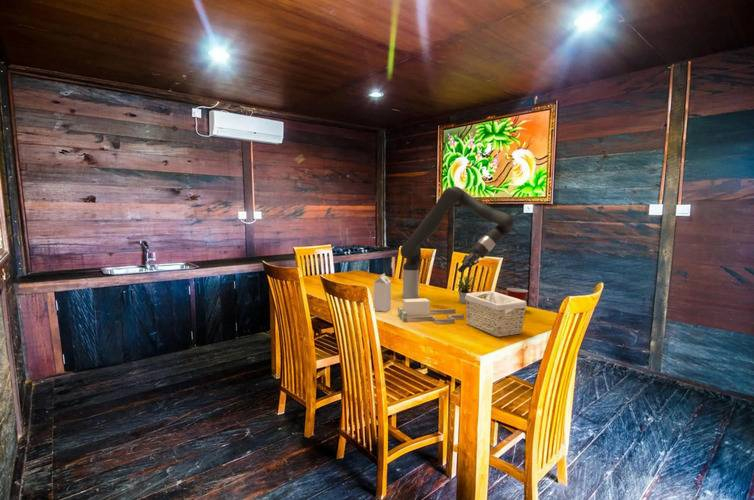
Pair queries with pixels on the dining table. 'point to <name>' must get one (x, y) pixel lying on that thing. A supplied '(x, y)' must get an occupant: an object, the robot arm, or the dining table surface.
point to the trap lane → (449, 320)
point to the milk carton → (382, 294)
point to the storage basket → (495, 313)
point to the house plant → (464, 288)
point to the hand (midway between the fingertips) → (459, 271)
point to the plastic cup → (517, 293)
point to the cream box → (416, 307)
